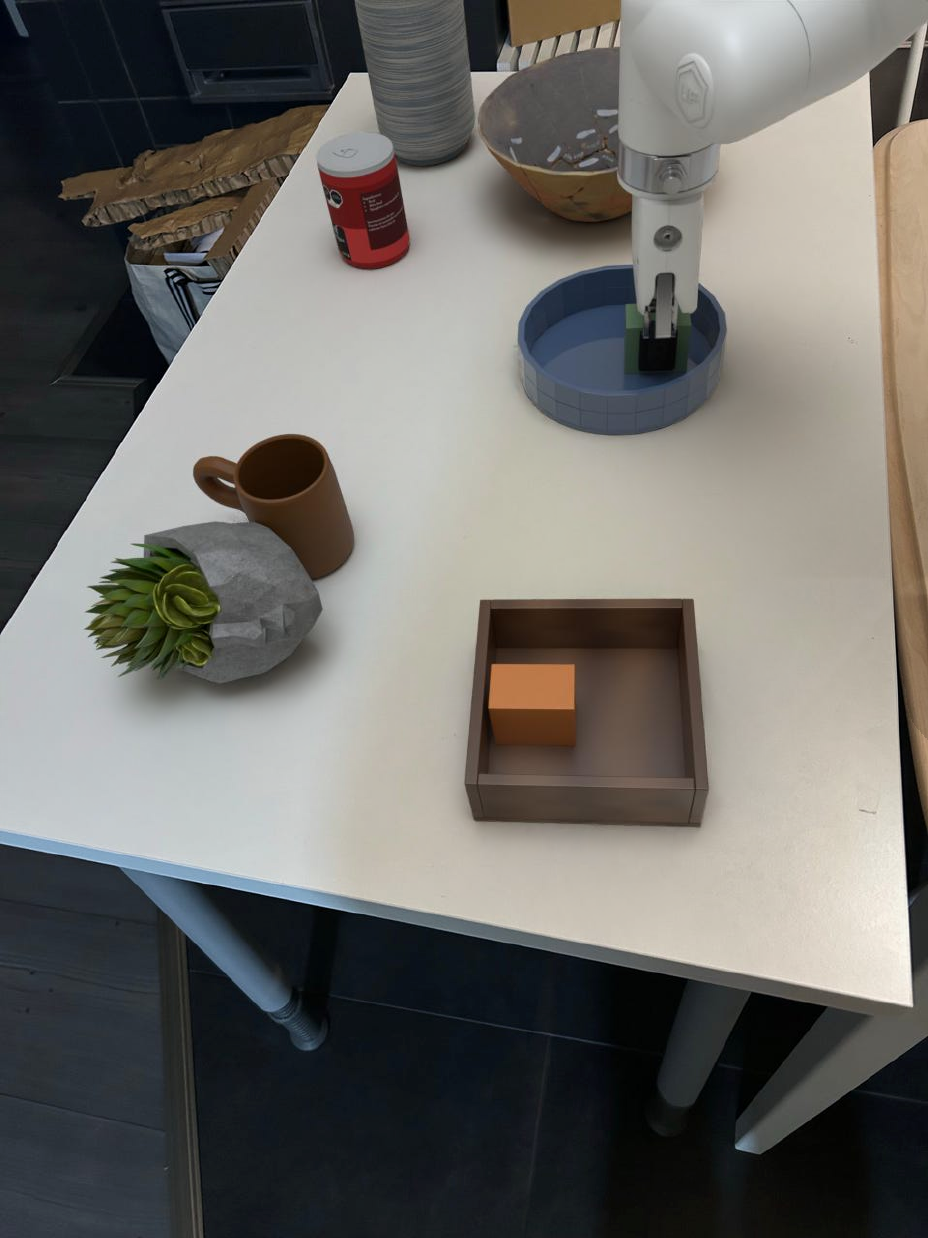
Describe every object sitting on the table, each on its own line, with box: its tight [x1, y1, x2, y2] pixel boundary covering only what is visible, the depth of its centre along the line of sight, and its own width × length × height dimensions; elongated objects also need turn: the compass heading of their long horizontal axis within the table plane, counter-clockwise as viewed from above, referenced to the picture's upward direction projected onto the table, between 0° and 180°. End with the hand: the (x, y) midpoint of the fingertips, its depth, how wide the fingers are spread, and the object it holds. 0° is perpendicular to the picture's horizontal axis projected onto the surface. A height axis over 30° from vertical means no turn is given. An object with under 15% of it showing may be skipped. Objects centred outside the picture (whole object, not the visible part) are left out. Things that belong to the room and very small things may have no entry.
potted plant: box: [83, 520, 323, 684], centre depth 66 cm, size 12×13×15 cm
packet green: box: [624, 304, 691, 374], centre depth 82 cm, size 6×3×5 cm, turn 86°
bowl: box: [477, 46, 632, 223], centre depth 98 cm, size 25×25×10 cm
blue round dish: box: [517, 263, 728, 436], centre depth 83 cm, size 18×18×4 cm
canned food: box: [316, 131, 410, 270], centre depth 96 cm, size 8×8×11 cm
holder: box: [463, 597, 710, 828], centre depth 61 cm, size 15×14×6 cm
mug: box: [192, 433, 355, 580], centre depth 73 cm, size 12×8×9 cm, turn 73°
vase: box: [353, 0, 476, 167], centre depth 103 cm, size 12×12×23 cm
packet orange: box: [489, 664, 576, 746], centre depth 62 cm, size 6×3×5 cm, turn 86°
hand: (655, 351), depth 84 cm, fingers closed on packet green, 3 cm apart
